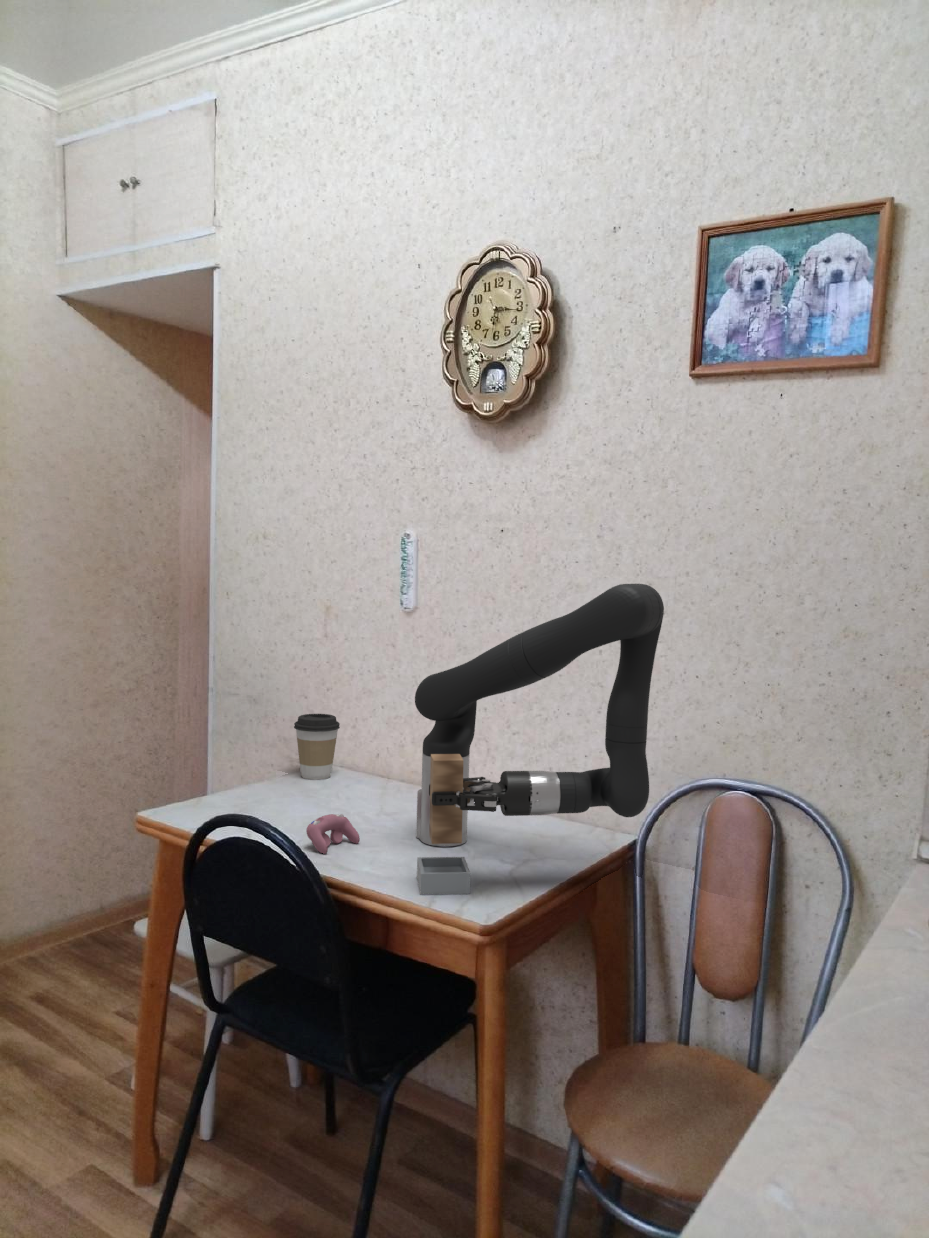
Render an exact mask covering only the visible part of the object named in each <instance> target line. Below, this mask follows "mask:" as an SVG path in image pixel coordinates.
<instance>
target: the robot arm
mask: <svg viewBox="0 0 929 1238" xmlns="http://www.w3.org/2000/svg"><path fill="white" fill-rule="evenodd" d="M664 607H665V606H664V600H663V598H662V596H661V595H660V593H659V592H658V591H657V590H656V588H654V587H652V586H650V585H648V584H646V583H645V584H644V583H621V584H617V585H615V586H612V587H610V588H608V589H607V590H605V591H604V592H602V593H601V594H599V595H598V596H596V597H595V598H593V599H591V600H590V601H588V602H586V603H585V604H583V605H581V606H580V607H578V608H577V609H575V610H573V611H571V612H569V613H567V614H565V615H562V616H559V617H555V618H553V619H551V620H548V621H545V622H543V623H541V624H539V625H536V626H534V627H531V628H529V629H526V630H525V631H523V632H520V633H518V634H516V635H514V636H512V637H510V638H509V639H506V640H504V641H503V642H501V643H499V644H496V645H495V646H494V647H491V648H490V649H488V650H486V651H485V652H483V653H481V654H479V655H478V656H476V657H474V658H472V659H470V660H469V661H467V662H465V663H462V664H460V665H458V666H455V667H452V668H450V669H446V670H443V671H439V672H436V673H433V674H430V675H428V676H426V677H425V678H424V679H423V680H422V681H421V682H419V684H418V686H417V689H416V691H415V694H414V703H415V707H416V710H417V711H418V712H419V714H420V715H422V717H423V718H425V719H428V720H430V721H434V722H435V723H434V725H433V727H432V729H431V731H430V732H429V733H428V734H427V735H426V736H425V737H424V739H423V742H422V757H421V758H422V759H421V760H422V761H421V762H422V763H421V788H420V789H418V790H417V792H416V794H417V795H416V796H417V797H416V798H417V799H416V827H415V828H416V829H415V830H416V831H415V832H416V833H415V834H416V835H415V838H417V839H420V841H421V842H422V843H424V844H426V845H429V846H433V847H444V848H445V847H456V846H461V845H463V844H465V843H466V842H467V838H468V818H469V817H468V814H469V811H475V812H476V811H477V812H492V813H494V812H497V807H498V806H500V811H501V813H502V815H503V816H505V817H515V816H516V817H517V816H518V817H519V816H521V817H522V816H527V817H528V816H548V815H554V814H559V815H561V814H580V813H585V812H587V811H588V810H589V809H590V808H593V807H594V808H596V807H597V808H598V807H609V808H610V809H611V810H612V811H613V812H614V813H615V814H617V815H618V816H620V817H624V818H632V817H633V818H634V817H636V816H639V815H640V814H641V813H642V812H643V811H644V810H645V808H646V807H647V803H648V801H649V797H650V777H649V776H650V775H649V768H648V760H647V750H646V748H647V741H648V740H647V739H648V738H647V737H648V721H649V720H648V718H649V702H650V691H651V681H652V675H653V669H654V663H655V657H656V653H657V646H658V642H659V637H660V634H661V630H662V625H663V620H664V614H665V613H664V612H665V608H664ZM618 641H620V652H619V662H618V667H617V671H616V676H615V679H614V682H613V686H612V689H611V692H610V696H609V698H608V699H609V700H608V703H607V708H606V716H605V718H606V719H605V720H606V721H605V736H604V737H605V738H604V745H605V746H604V747H605V752H606V755H607V756H608V759H609V767H603V768H602V767H601V768H596V769H589V770H584V771H580V772H579V771H578V772H577V771H547V770H504V771H502V773H501V774H500V777H499V779H500V780H499V781H498V782H495V781H493V782H492V781H491V779H487V778H486V777H484V776H477V777H476V776H475V777H470V753H471V752H470V750H471V745H472V742H473V740H474V739H475V738H474V736H475V731H476V729H475V728H476V719H477V718H476V717H477V703H478V701H480V700H482V699H484V698H487V697H491V696H496V695H500V694H503V693H506V692H510V691H514V690H515V691H516V690H518V689H520V688H524V687H526V686H530V685H533V684H535V683H537V682H539V681H541V680H544V679H546V678H549V677H551V676H552V675H554V674H556V673H558V672H560V671H561V670H563V669H564V668H566V667H567V666H568V665H569V664H571V663H573V662H574V660H576V659H577V658H579V657H580V656H581V655H583V654H585V653H587V652H589V651H592V650H594V649H597V648H600V647H602V646H605V645H607V644H612V643H614V642H618ZM431 754H460V755H461V757H462V759H463V791H455V794H454V791H439V792H432V805H434V806H446V805H454V804H455V807H460V810H462V843H451V844H432V842H431V839H430V835H429V825H430V769H431Z"/></svg>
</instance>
